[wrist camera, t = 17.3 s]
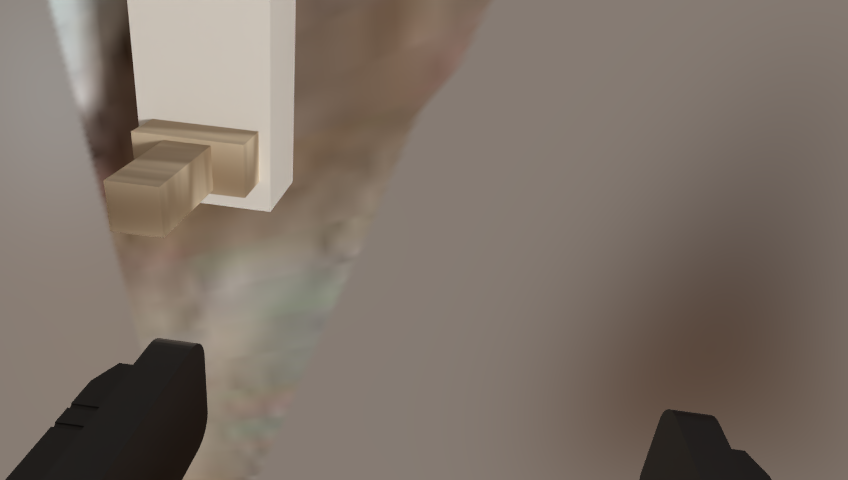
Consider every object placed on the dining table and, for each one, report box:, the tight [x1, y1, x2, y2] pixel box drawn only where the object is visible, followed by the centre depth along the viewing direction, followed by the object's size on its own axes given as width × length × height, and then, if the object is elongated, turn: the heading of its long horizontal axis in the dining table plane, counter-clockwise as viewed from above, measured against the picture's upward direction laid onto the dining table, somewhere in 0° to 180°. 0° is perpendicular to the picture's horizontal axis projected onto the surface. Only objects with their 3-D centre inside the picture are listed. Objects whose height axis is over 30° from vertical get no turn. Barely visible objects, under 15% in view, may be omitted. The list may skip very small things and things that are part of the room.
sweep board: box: [127, 0, 296, 212], centre depth 36 cm, size 20×8×5 cm, turn 174°
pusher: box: [104, 119, 259, 238], centre depth 33 cm, size 3×6×8 cm, turn 84°
